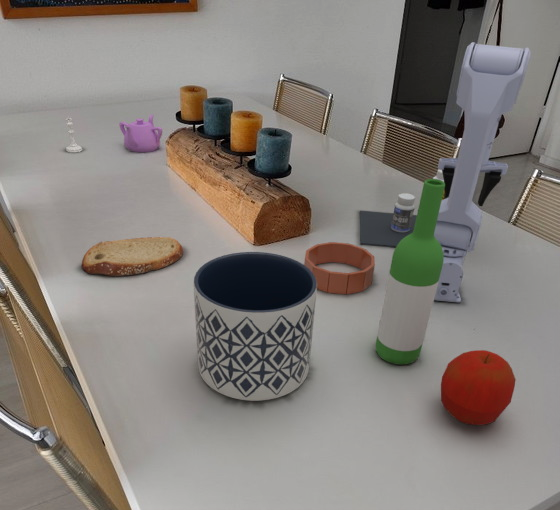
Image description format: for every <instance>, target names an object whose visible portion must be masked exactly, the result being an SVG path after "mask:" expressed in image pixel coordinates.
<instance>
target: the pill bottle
mask: <svg viewBox="0 0 560 510" xmlns="http://www.w3.org/2000/svg"><path fill="white" fill-rule="evenodd" d="M415 200H416V196H415V195H413V194H410V193H407V192H405V193H403V192H402V193H399V194H398V195H397V200H396V203H395V204H394V207H393V208H394V209H393V219H392V224H391V229H392V230H394V231H396V232H401V233H405V232H408V231H409V230H410V227H411V222H412V217H413V215H414V213H415V209H416V208H415Z"/></svg>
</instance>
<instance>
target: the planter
mask: <svg viewBox="0 0 560 510" xmlns="http://www.w3.org/2000/svg"><path fill="white" fill-rule="evenodd" d="M317 290H318V289H317V281H316V278H315V276H314V274H313V273H312V271H311V270H310V269H309V268H307V267H306V266H305V265H304V264H303V263H302V262H300V261H298V260H296V259H294V258H292V257H288V256H285V255H282V254H278V253H271V252H264V251H263V252H261V251H241V252H234V253H228V254H224V255H221V256H217V257H214V258H213V259H210V260H209V261H207V262H206V263H204V264H203V265H201V266H200V267H199V269H198V270H197V271H196V272H195V274H194V277H193V298H194V299H193V301H194V316H195V317H194V318H195V333H196V349H197V350H196V351H197V364H198V371H199V374H200V376H201V378H202V380H203V381H204V382H205V384H206V385H208V387H210V388H211V389H212V390H214V391H216V392H217V393H219V394H221V395H223V396H225V397H228V398H232V399H237V400H241V401H253V402H256V401H257V402H258V401H259V402H260V401H261V402H262V401H268V400H273V399H277V398H282V397H283V396H286V395H288V394H290V393H292V392H293V391H295V390H296V389H298V388H299V387H300V386H301V385H302V384H303V383H304V381H305V380H306V379H307V377H308V374H309V370H310V369H309V368H310V362H311V351H312V341H313V332H314V331H313V330H314V323H315V322H314V321H315V312H316V300H317Z"/></svg>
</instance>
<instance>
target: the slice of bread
mask: <svg viewBox="0 0 560 510" xmlns="http://www.w3.org/2000/svg"><path fill="white" fill-rule="evenodd" d="M183 253H184V248H183V246H182V244H180V242H179V241H178V240H177V239H175V238H173V237H171V236H169V237H165V236H164V237H163V236H162V237H160V236H154V237H151V236H149V237H135V238H126V239H117V240H116V239H115V240H107V241H106V240H105V241H99V242H98V243H97V244H95V245H92V247H90V248H89V249H88V250H87V251H86V253H84V255H83V257H82V260H81V269H82V270H83V271H85V272H86V273H87V274H90V275H94V274H95V275H96V274H98V275H105V276H111V277H123V276H134V275H140V274H145V273H148V272H151V271H157V270H160V269H163V268H166V267H169V266H170V265H172V264H174V263H176V262H177V261H178V260H179V259H181V258H182V256H183Z"/></svg>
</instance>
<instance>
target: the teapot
mask: <svg viewBox="0 0 560 510" xmlns="http://www.w3.org/2000/svg"><path fill="white" fill-rule="evenodd" d="M154 116H155V115H154V114H153V113H152V114H150V115H149V117H148V120H147V121H145V120H144V118H136V119H135V120H136V121H132V122H130V123H128V122H126V121H120V122H119V123H118V124H119V125H118V126H119V129H120V131H121V133H122V135H123V144H124V146H125V147H126V148H127V149H128V150H129V151H131V152H135V153H151V152H154V151H156V150H158V148H159V147H160V145H161V138H162V136H163V128H162V127H160V126H155V124H154Z"/></svg>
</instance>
